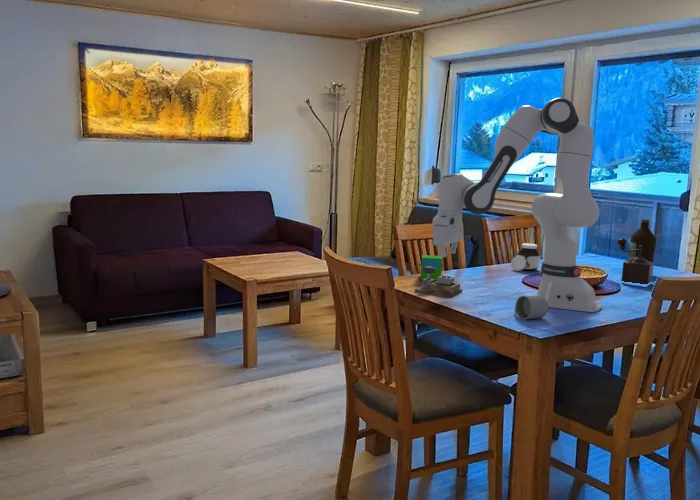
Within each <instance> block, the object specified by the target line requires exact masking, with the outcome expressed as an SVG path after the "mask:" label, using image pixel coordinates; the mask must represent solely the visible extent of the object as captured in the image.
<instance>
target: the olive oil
mask: <svg viewBox="0 0 700 500" xmlns="http://www.w3.org/2000/svg"><path fill="white" fill-rule="evenodd" d="M649 227H650V219H648V218H647V219H646V218H642V219H641V221H640V227H639V228H638V229H637V230H636V231H634V232H633V233H632V234H631V236H630V239H629V250H636V249H638V248H639V245H642V250H641V256H642V258H644V259H646V260H647V261H649V262H653V261H654V255H655V250H656V245H657V239H656V235H655V234H654V233H653V232H652V231H651V229H650V228H649ZM638 254H639V251H634V252H628V259H632V258H635V257H638Z"/></svg>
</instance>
